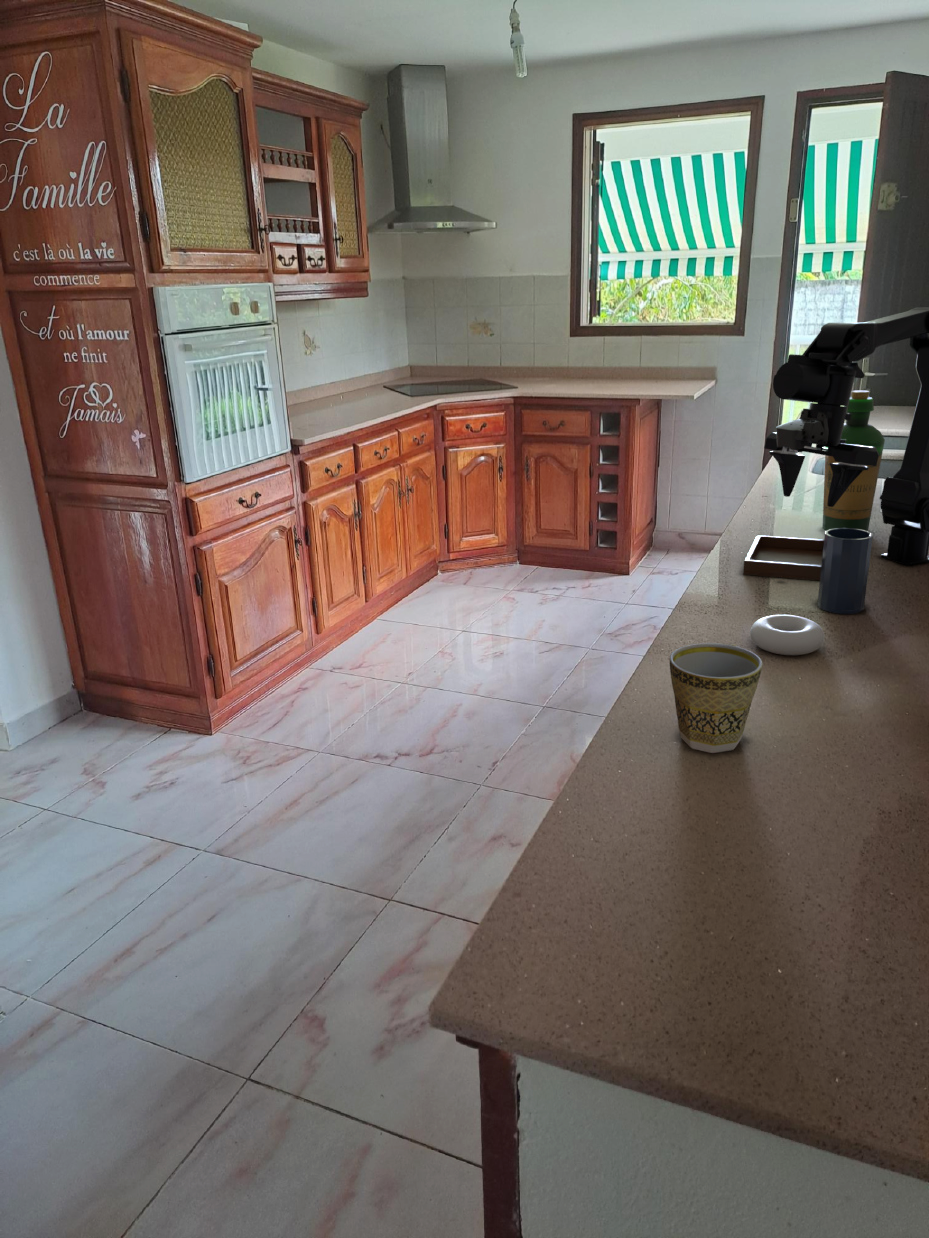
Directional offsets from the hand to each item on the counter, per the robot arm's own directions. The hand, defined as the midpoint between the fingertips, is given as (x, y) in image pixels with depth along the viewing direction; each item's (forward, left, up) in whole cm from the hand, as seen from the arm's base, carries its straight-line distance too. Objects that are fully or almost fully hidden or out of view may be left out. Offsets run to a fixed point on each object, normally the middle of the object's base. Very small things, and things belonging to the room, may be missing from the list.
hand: (807, 501), depth 145 cm
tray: (-7, -11, -15) cm, 19 cm away
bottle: (-31, -23, -15) cm, 41 cm away
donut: (+19, +20, -15) cm, 32 cm away
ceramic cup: (+44, +38, -15) cm, 60 cm away
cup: (+1, +11, -15) cm, 18 cm away
